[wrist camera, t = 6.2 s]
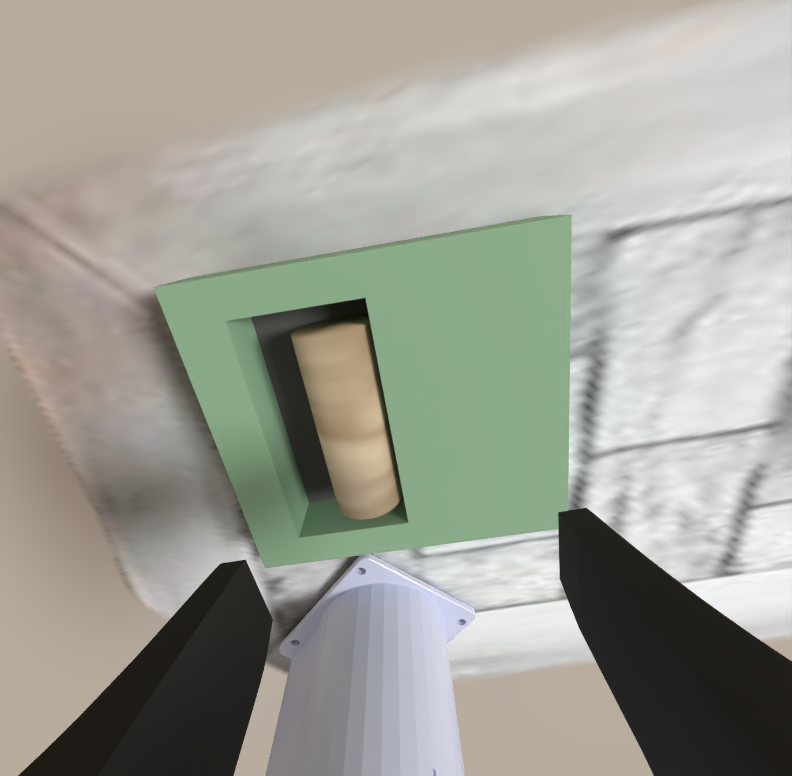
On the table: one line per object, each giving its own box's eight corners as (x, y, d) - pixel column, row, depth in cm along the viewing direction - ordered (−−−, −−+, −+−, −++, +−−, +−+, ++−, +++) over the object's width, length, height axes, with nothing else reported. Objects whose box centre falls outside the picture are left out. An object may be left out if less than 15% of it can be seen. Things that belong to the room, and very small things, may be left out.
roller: (324, 502, 18) (372, 469, 20) (367, 529, 16) (416, 489, 18) (275, 335, 15) (337, 314, 17) (320, 342, 13) (385, 317, 15)
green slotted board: (543, 215, 15) (571, 214, 12) (547, 492, 20) (567, 527, 18) (188, 277, 16) (153, 287, 13) (279, 529, 21) (265, 567, 18)
